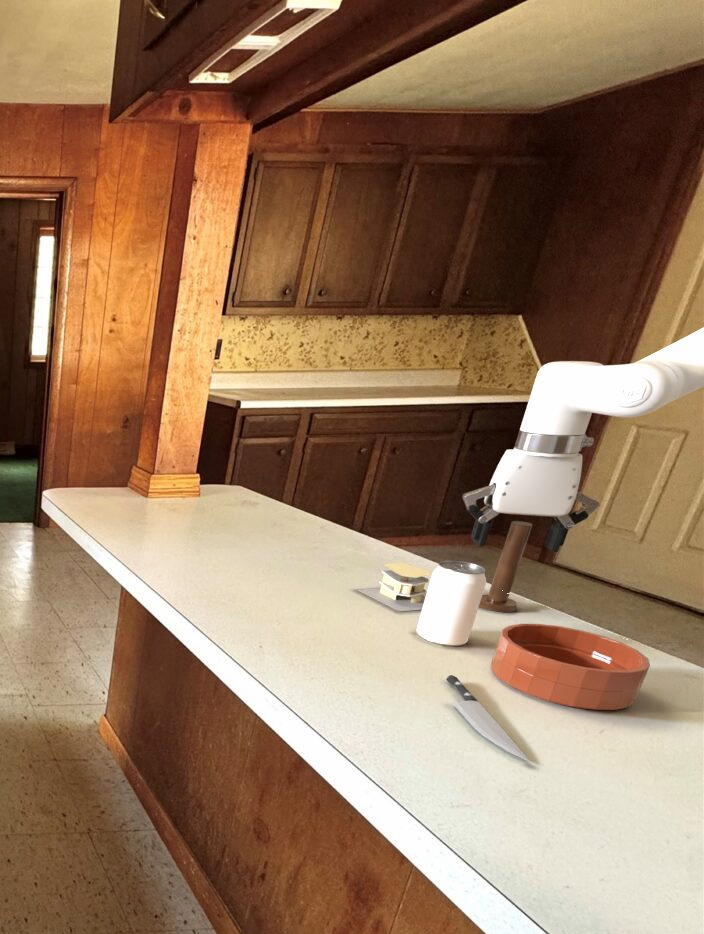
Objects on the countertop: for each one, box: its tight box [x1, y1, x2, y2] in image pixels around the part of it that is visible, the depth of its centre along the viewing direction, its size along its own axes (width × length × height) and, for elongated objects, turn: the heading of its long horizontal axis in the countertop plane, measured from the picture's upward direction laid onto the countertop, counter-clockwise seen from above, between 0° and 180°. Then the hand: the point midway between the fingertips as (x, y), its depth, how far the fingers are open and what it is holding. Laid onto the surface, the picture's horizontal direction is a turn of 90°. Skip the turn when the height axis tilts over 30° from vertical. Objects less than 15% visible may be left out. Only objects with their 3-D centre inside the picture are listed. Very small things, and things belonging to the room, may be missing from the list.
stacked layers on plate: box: [356, 562, 432, 612], centre depth 118 cm, size 10×9×6 cm
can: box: [416, 560, 487, 647], centre depth 102 cm, size 6×6×12 cm
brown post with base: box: [478, 520, 533, 613], centre depth 112 cm, size 5×5×15 cm
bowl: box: [490, 623, 651, 711], centre depth 89 cm, size 14×14×6 cm
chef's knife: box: [445, 674, 530, 763], centre depth 84 cm, size 19×1×3 cm
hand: (513, 546), depth 110 cm, fingers open, 9 cm apart
